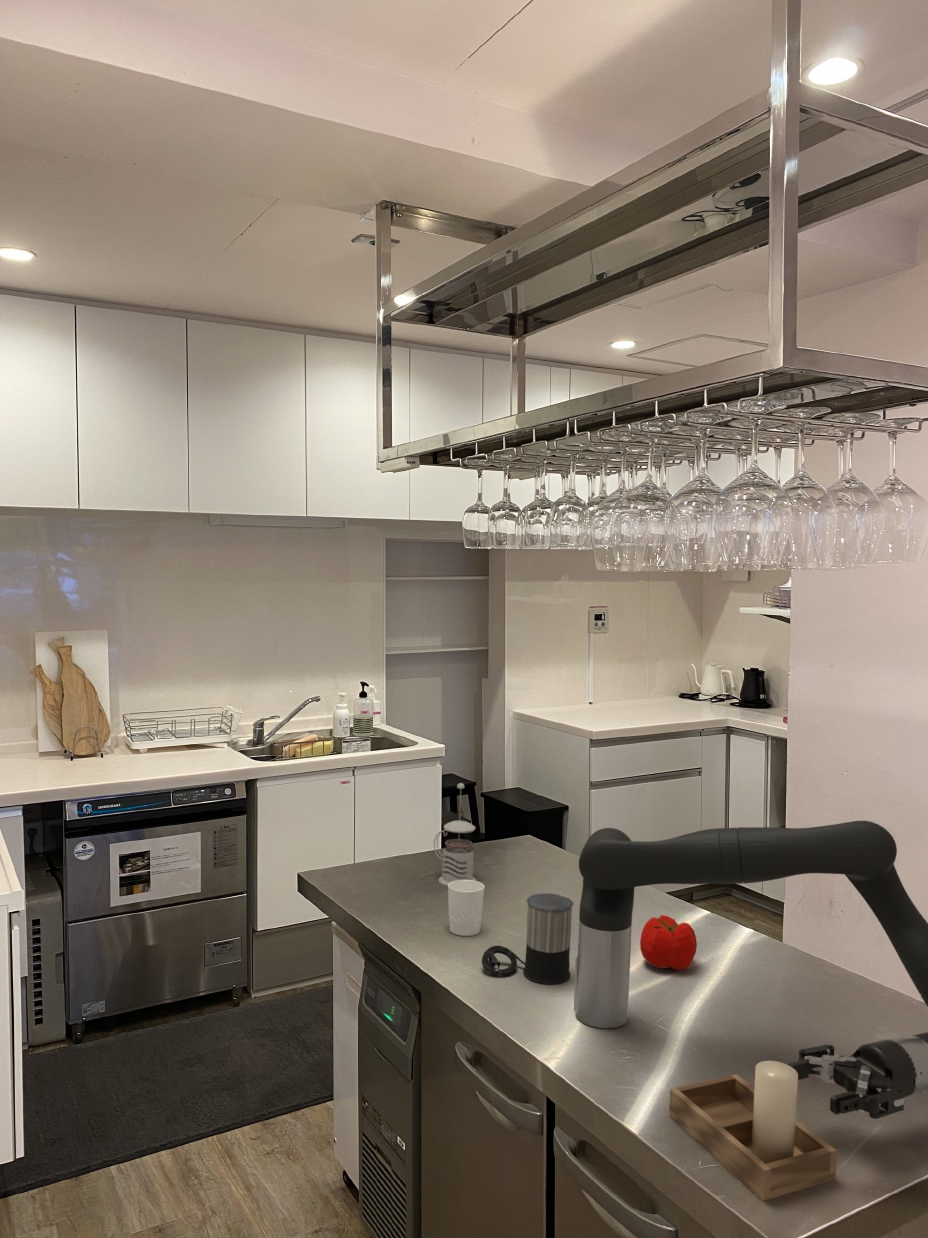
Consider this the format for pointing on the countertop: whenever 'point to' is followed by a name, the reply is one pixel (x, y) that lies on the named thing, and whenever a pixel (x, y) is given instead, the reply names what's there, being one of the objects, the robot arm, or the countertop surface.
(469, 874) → the french press
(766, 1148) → the cream pillar candle
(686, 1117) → the wooden divided tray
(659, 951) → the tomato
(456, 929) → the white cup
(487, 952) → the milk frother
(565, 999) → the countertop surface
